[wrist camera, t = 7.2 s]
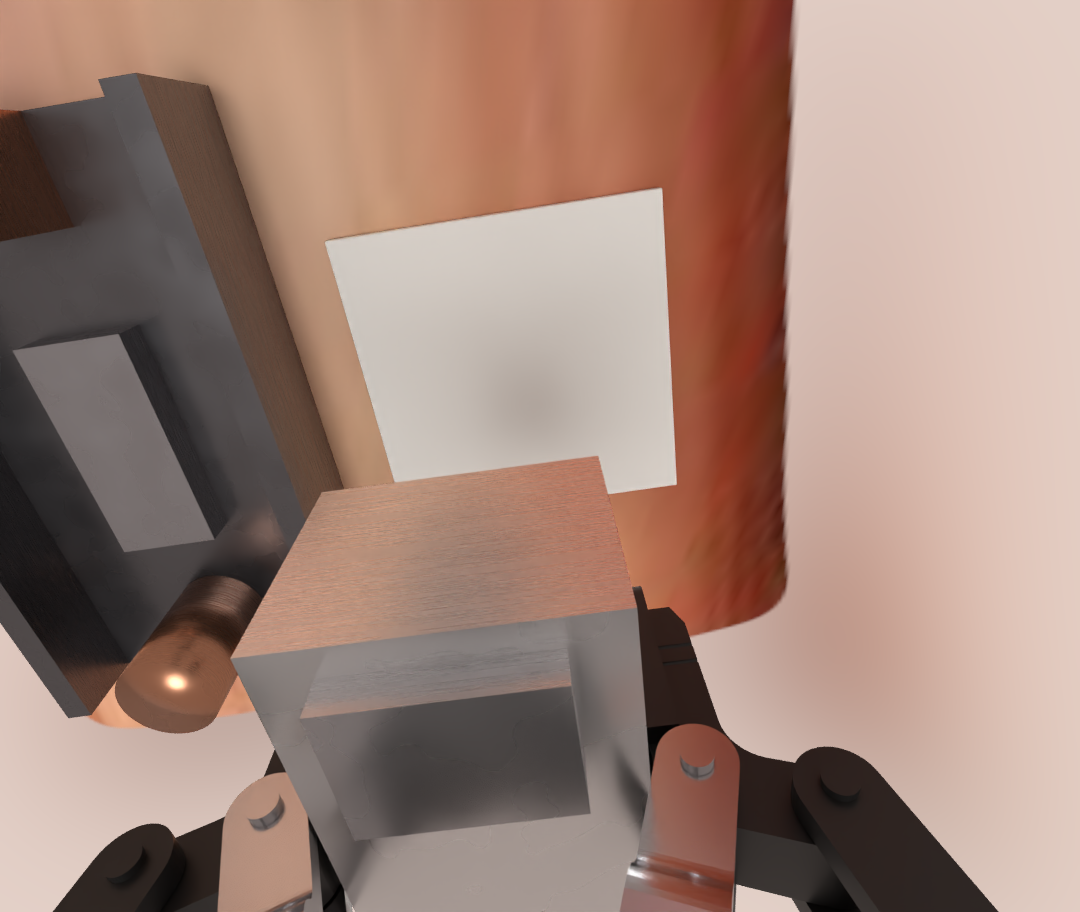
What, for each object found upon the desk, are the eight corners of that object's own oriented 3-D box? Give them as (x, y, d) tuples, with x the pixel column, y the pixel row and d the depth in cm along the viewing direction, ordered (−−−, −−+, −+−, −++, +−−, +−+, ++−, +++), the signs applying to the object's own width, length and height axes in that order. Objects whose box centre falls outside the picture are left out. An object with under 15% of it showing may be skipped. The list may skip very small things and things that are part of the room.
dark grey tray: (-177, 151, 24) (-446, 154, 17) (208, 85, 23) (85, 64, 17) (124, 646, 36) (33, 762, 29) (384, 610, 35) (354, 720, 29)
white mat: (328, 239, 26) (324, 241, 26) (659, 187, 26) (662, 188, 25) (408, 516, 32) (406, 522, 32) (673, 478, 32) (676, 484, 31)
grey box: (322, 492, 11) (208, 697, 7) (598, 455, 11) (647, 644, 7) (428, 803, 15) (396, 1047, 11) (630, 780, 15) (673, 1018, 11)
